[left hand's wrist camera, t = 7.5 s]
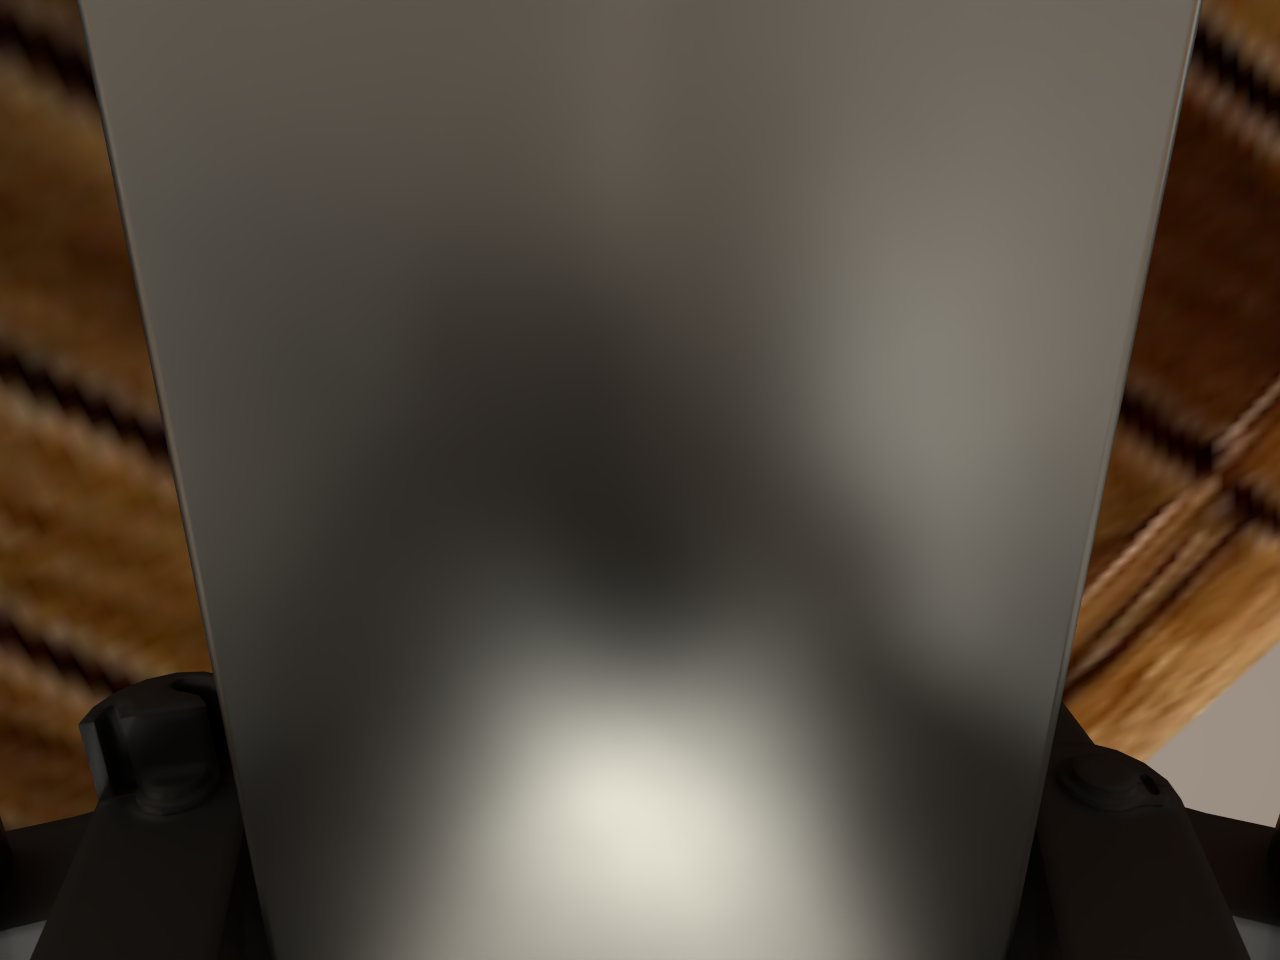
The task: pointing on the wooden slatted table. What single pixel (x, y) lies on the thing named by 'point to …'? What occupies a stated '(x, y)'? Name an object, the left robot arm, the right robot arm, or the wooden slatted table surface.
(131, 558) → the wooden slatted table surface
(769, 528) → the bar
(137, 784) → the left robot arm
